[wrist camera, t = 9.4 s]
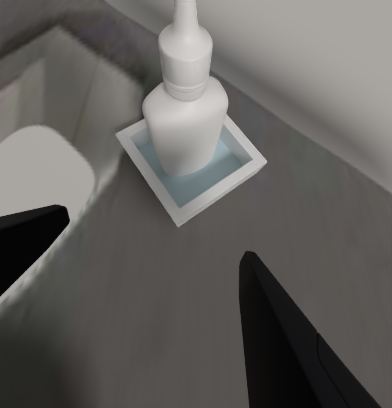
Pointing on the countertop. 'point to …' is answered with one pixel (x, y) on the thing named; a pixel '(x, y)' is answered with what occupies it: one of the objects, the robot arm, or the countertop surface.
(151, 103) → the eye dropper bottle
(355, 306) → the countertop surface
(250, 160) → the square tray
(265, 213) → the countertop surface
